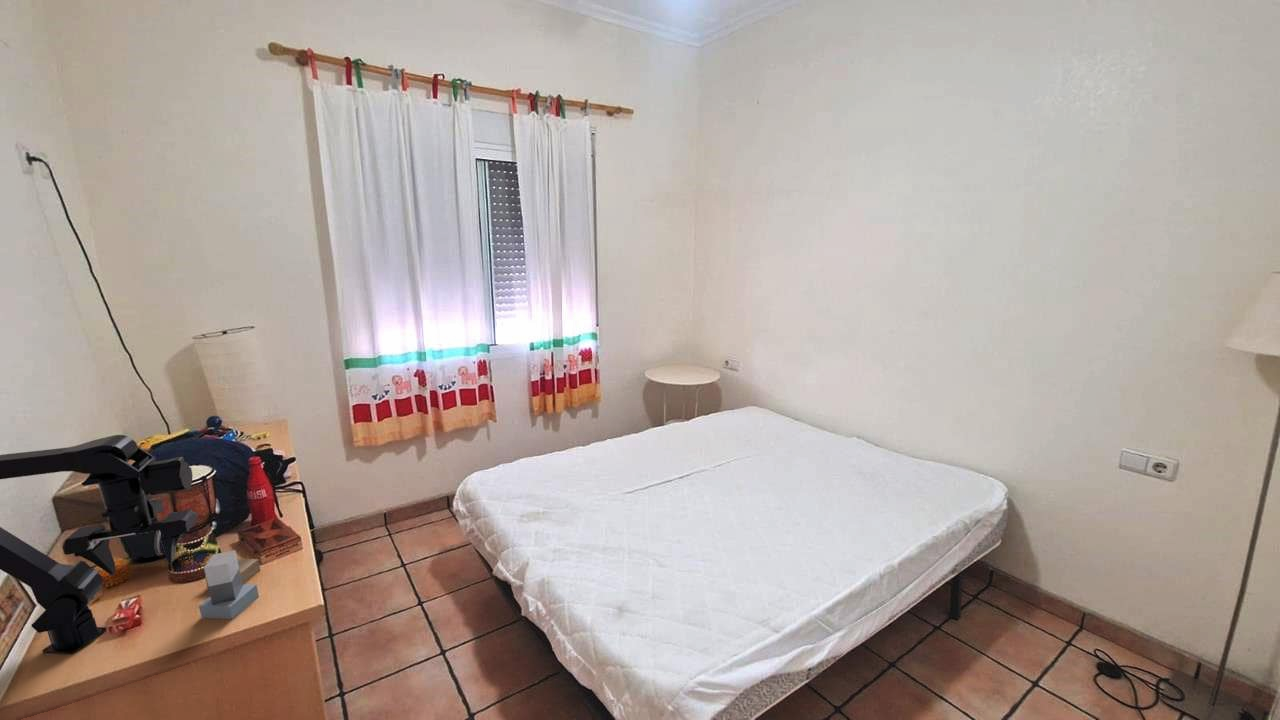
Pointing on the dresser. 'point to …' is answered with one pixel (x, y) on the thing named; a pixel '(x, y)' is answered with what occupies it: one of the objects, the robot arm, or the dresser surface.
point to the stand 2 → (229, 604)
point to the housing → (223, 577)
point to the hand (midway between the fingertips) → (142, 567)
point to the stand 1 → (247, 568)
